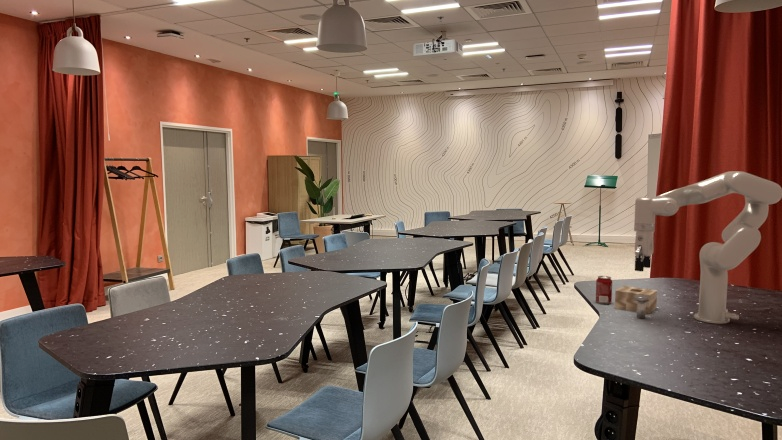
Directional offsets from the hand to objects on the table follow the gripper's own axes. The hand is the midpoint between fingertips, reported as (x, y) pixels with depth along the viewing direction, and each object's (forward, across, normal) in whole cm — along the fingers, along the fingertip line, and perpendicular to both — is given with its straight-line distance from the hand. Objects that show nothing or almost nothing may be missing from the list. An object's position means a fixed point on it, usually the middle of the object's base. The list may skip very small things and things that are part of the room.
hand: (642, 269), depth 221 cm
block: (+20, +14, +6) cm, 25 cm away
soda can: (+20, +15, +20) cm, 32 cm away
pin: (+20, 0, 0) cm, 20 cm away
